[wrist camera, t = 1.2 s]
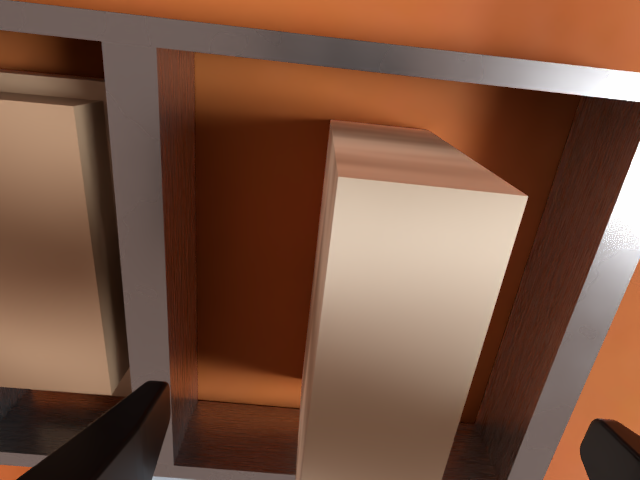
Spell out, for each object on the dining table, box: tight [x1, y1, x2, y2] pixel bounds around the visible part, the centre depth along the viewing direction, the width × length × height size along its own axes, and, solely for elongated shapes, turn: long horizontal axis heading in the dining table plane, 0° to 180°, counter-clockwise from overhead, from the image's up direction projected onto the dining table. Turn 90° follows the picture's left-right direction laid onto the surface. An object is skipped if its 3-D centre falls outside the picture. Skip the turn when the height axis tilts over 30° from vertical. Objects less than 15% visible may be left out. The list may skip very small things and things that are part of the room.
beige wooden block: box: [295, 120, 528, 480], centre depth 12 cm, size 10×3×7 cm, turn 174°
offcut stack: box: [0, 69, 132, 397], centre depth 14 cm, size 11×4×3 cm, turn 175°
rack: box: [0, 0, 640, 480], centre depth 13 cm, size 14×20×3 cm
